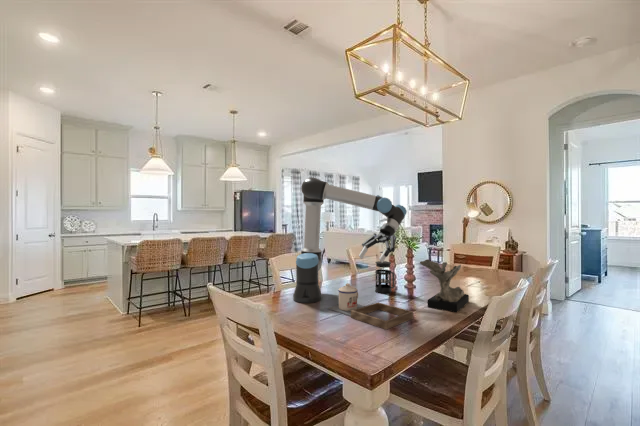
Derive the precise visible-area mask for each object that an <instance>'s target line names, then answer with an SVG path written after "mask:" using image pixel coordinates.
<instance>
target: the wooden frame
mask: <svg viewBox="0 0 640 426" xmlns="http://www.w3.org/2000/svg"><path fill="white" fill-rule="evenodd" d="M364 306H365V307H362V308H358V309H355V310H352V311H351V316H350V318H351V319H354V320H356V321H361V322H363V323H366V324H369V325H372V326H375V327H378V328H381V329H383V330H388V329H391V328H394V327H396V326H398V325H401V324H404V323H405V322H408V321H411V320H413V319H414V311H412V310H408V309H404V308H401V307H396V306H393V305H389V304H387V303H386V304H385V303H382V302H375V303H372V304H368V305H364ZM378 310H379V311H383V312H384V313H385V312H386V313H389V314H392V315H396V316H395V317H392V318H389V319H386V320H385V319H382V318H379V317H375V316H371V315H368V314H370V313H372V312H375V311H378Z"/></svg>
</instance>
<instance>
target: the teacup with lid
mask: <svg viewBox="0 0 640 426" xmlns="http://www.w3.org/2000/svg"><path fill="white" fill-rule="evenodd" d="M337 291H338V305H339V309H341V310H344V311H352V310H355V309H357V304H358V298H359V292H358V288H357V287H354V286H352V285H351V284H350V283H345V285H343V286H342V287H341V286H340V287H339V288H338V290H337Z"/></svg>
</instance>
